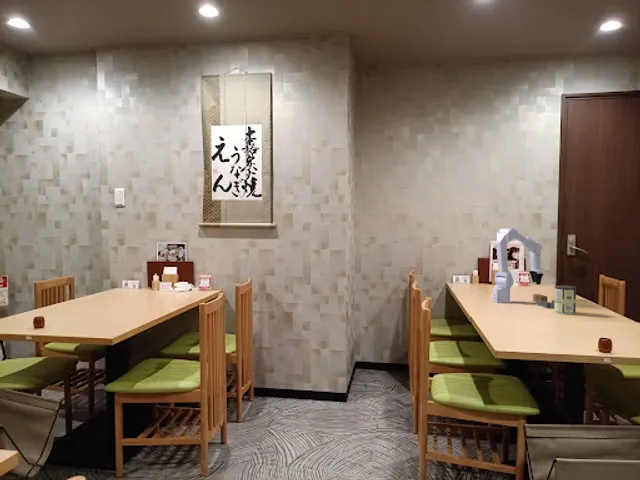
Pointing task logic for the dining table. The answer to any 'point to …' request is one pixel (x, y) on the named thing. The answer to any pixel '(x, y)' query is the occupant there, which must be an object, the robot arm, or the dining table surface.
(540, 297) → the brown rectangular block
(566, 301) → the coffee can
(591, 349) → the dining table surface
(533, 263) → the robot arm
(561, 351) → the dining table surface
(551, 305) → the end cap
